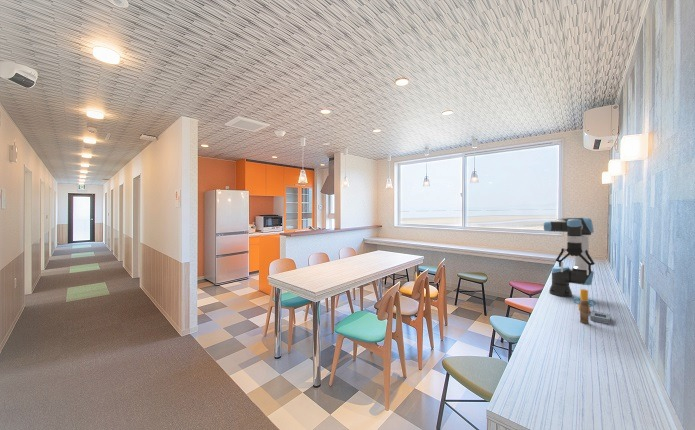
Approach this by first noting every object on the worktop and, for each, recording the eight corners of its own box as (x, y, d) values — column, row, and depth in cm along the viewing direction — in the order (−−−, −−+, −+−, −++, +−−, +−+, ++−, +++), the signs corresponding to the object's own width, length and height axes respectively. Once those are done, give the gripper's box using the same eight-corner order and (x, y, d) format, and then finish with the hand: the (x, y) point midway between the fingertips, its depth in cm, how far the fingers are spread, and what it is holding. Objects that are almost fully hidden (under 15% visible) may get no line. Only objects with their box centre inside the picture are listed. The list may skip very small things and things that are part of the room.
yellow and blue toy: (599, 314, 188) (599, 292, 187) (584, 314, 188) (584, 292, 188) (584, 307, 200) (584, 287, 200) (570, 307, 200) (569, 287, 200)
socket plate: (592, 314, 186) (592, 310, 186) (610, 318, 180) (610, 314, 180) (590, 320, 178) (590, 315, 178) (609, 324, 172) (609, 319, 172)
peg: (580, 320, 178) (580, 299, 177) (588, 322, 175) (588, 300, 175) (579, 322, 175) (579, 301, 175) (588, 324, 172) (588, 302, 172)
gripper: (550, 241, 191) (550, 271, 192) (598, 244, 174) (598, 277, 174) (552, 240, 197) (552, 269, 197) (599, 242, 179) (599, 275, 179)
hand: (574, 273), depth 186 cm, fingers open, 13 cm apart
